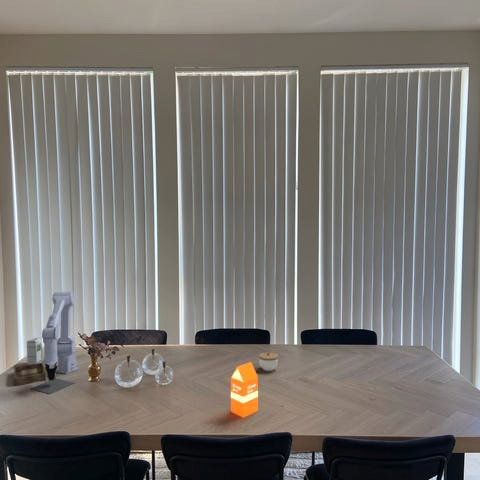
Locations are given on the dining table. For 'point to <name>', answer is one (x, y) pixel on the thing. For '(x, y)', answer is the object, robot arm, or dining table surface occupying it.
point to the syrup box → (34, 351)
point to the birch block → (48, 378)
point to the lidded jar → (268, 361)
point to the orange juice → (244, 390)
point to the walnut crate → (29, 374)
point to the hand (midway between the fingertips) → (51, 378)
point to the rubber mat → (52, 386)
